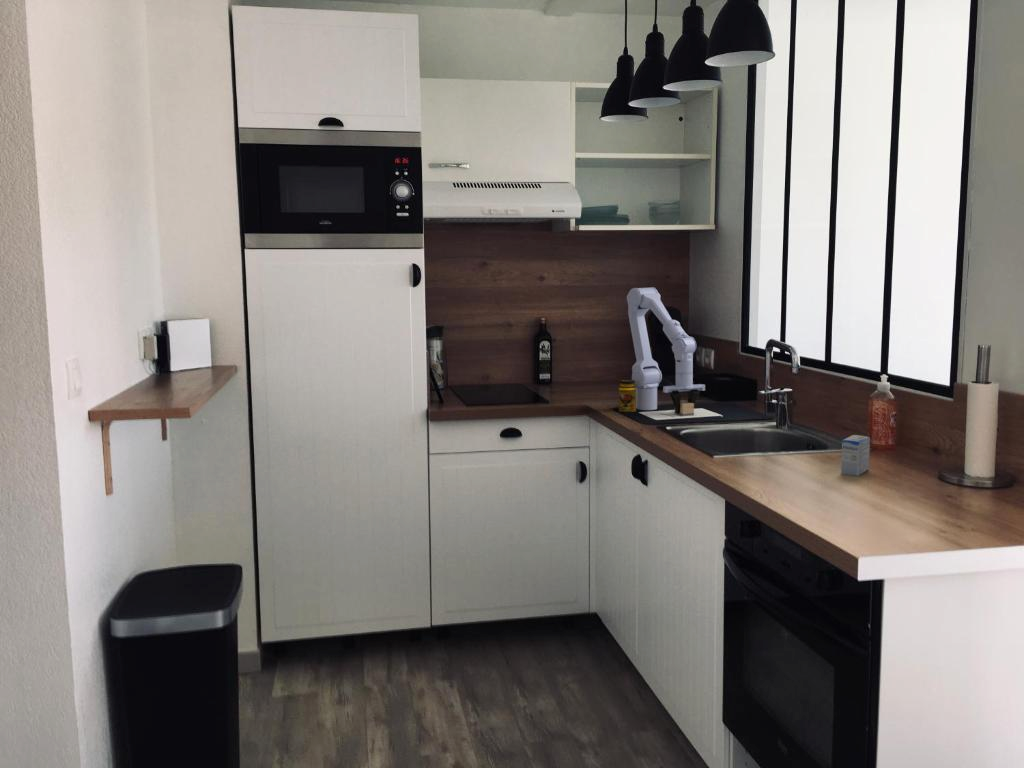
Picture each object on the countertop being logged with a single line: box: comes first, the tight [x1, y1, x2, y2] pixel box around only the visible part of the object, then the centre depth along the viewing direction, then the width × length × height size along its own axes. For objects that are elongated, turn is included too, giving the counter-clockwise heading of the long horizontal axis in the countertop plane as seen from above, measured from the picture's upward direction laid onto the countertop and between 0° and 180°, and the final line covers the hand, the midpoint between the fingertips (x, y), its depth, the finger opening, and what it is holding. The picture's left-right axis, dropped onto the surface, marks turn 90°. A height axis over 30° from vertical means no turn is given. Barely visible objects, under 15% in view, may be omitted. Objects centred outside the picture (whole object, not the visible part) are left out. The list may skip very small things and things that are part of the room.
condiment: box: [618, 379, 637, 413], centre depth 316 cm, size 7×8×12 cm
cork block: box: [675, 400, 695, 416], centre depth 305 cm, size 7×4×4 cm, turn 13°
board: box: [638, 408, 724, 421], centre depth 306 cm, size 16×24×1 cm, turn 103°
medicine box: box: [840, 434, 871, 477], centre depth 223 cm, size 8×4×9 cm, turn 141°
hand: (684, 412), depth 305 cm, fingers closed on cork block, 4 cm apart
